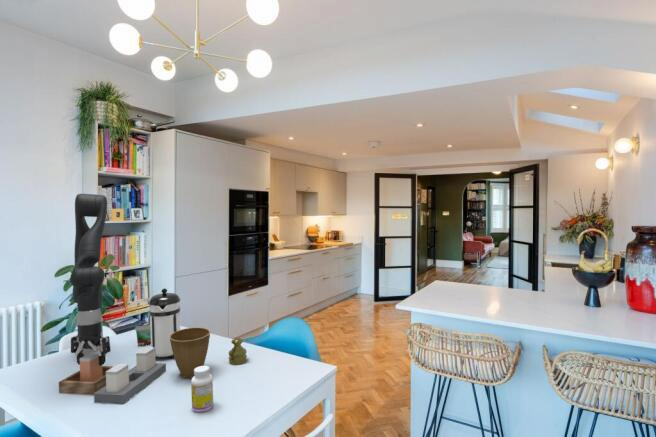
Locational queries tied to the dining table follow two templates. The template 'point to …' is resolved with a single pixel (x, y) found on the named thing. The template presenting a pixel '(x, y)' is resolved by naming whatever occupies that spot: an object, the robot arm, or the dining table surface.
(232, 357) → the olive green lumpy piece
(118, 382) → the block
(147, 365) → the block
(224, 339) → the dining table surface
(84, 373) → the block
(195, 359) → the plant pot
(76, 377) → the tray
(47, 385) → the dining table surface
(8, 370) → the dining table surface
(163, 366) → the frame
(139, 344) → the food container
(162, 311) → the coffee press
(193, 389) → the supplement bottle
